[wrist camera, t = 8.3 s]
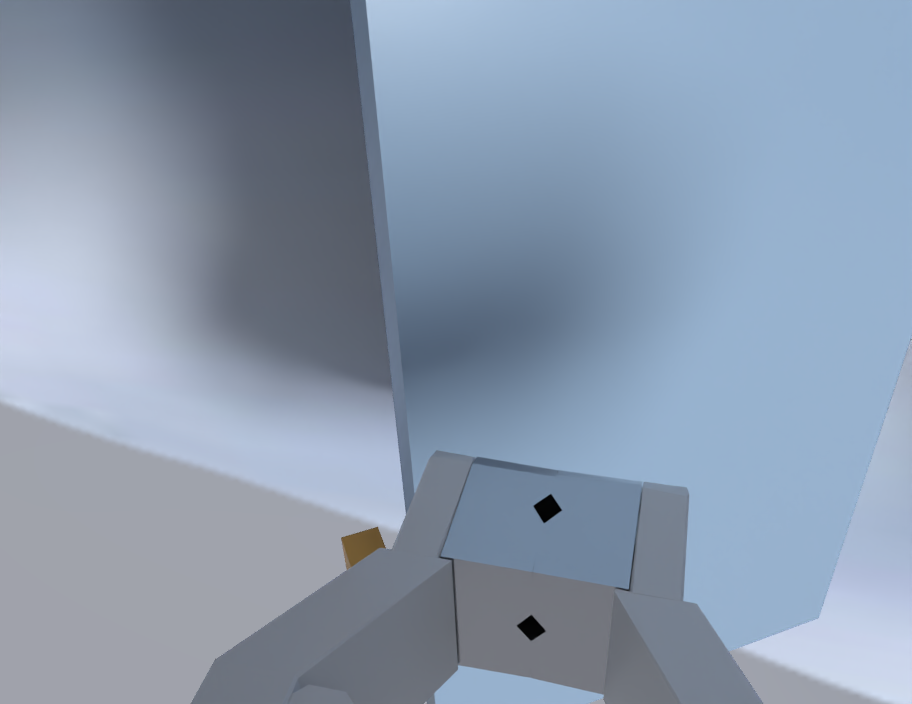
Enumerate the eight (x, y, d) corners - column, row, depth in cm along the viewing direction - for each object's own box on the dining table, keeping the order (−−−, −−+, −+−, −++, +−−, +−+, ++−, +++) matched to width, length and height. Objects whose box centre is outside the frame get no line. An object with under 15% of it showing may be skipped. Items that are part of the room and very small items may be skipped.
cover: (106, -785, 8) (121, -975, 6) (1045, -704, 11) (1290, -812, 9) (364, 668, 21) (397, 774, 19) (751, 538, 24) (818, 618, 22)
